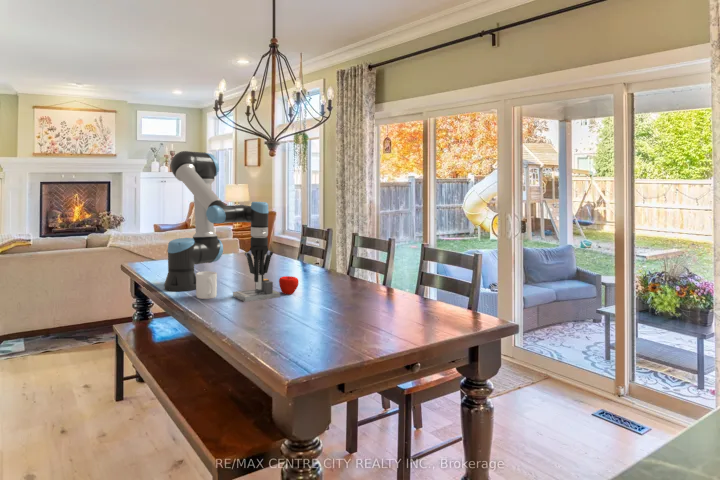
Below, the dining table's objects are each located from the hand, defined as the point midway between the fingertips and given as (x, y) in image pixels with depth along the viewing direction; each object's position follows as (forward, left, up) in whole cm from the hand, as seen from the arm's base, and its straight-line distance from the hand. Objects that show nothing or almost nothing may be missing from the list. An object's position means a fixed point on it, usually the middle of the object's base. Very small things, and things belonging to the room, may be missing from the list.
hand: (258, 288), depth 218 cm
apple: (+1, +15, -4) cm, 15 cm away
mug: (-9, -20, -4) cm, 22 cm away
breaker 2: (+4, +3, -2) cm, 5 cm away
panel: (0, -1, -4) cm, 4 cm away
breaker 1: (-5, +3, -2) cm, 6 cm away
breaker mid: (0, +3, -2) cm, 4 cm away
